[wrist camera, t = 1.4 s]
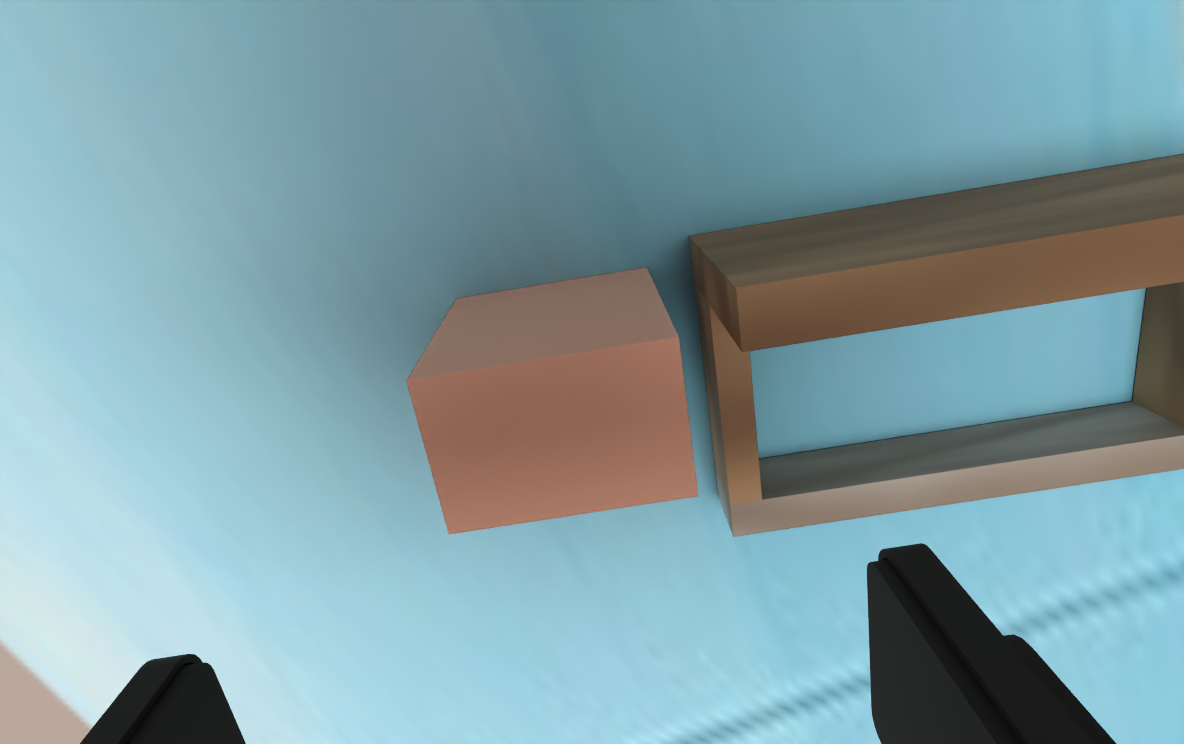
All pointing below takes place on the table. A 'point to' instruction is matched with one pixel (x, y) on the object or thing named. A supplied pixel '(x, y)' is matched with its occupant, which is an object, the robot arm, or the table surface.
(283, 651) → the table surface
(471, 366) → the salmon pink block
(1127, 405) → the board
